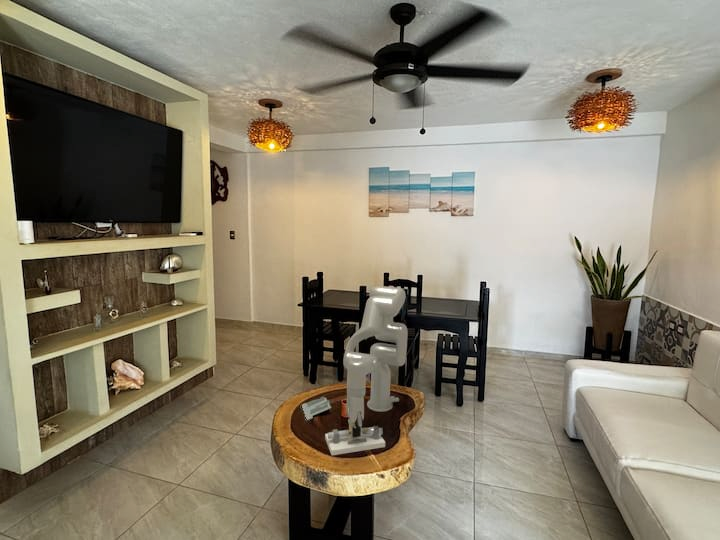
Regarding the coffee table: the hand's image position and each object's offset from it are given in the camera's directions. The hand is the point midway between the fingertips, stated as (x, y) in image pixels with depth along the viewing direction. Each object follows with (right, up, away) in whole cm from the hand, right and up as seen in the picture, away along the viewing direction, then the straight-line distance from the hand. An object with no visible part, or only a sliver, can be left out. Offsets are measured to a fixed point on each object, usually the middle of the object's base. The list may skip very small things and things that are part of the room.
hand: (354, 432), depth 148 cm
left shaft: (+7, -2, +1) cm, 8 cm away
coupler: (0, -1, 0) cm, 1 cm away
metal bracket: (-19, -2, +26) cm, 32 cm away
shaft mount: (0, -4, +1) cm, 4 cm away
